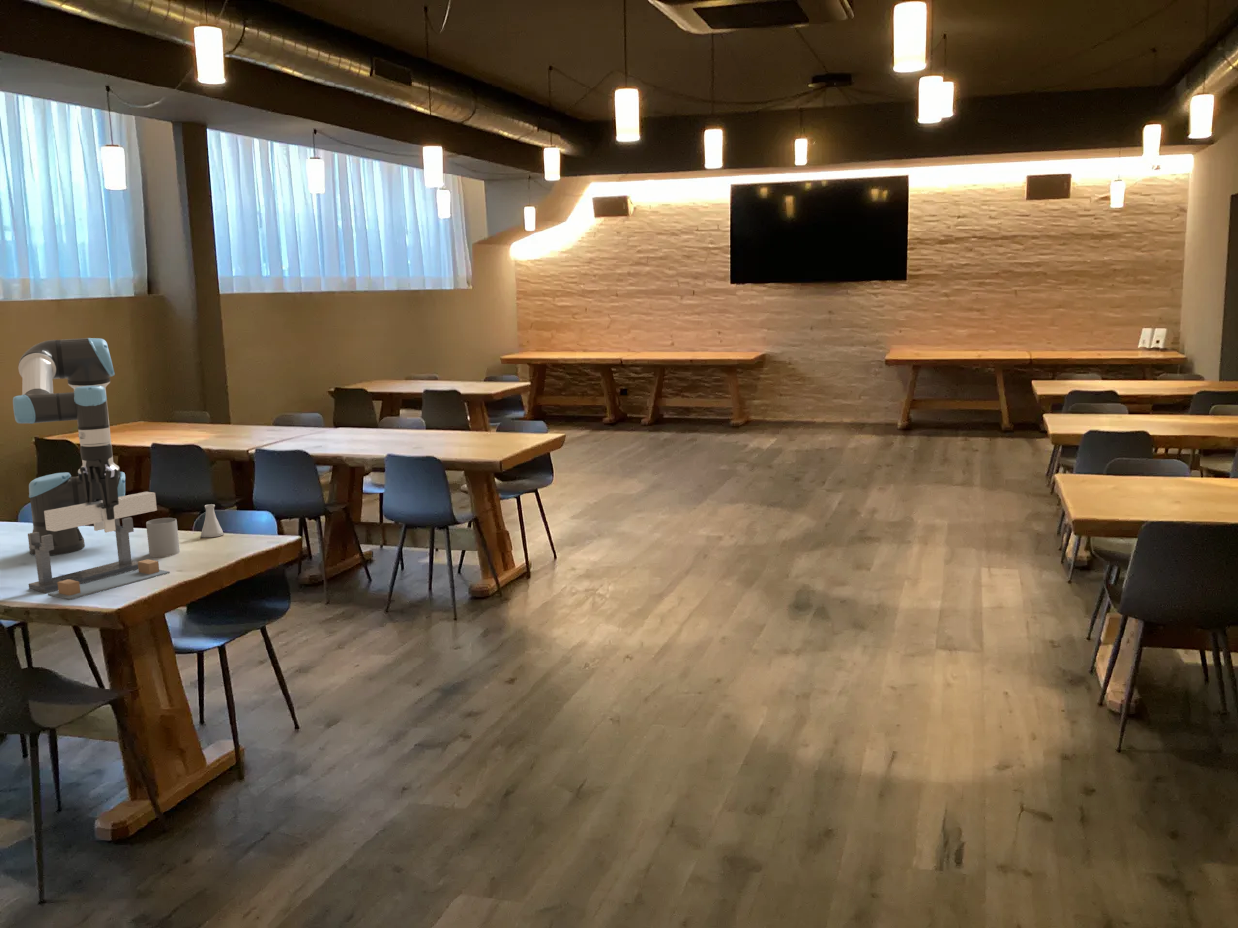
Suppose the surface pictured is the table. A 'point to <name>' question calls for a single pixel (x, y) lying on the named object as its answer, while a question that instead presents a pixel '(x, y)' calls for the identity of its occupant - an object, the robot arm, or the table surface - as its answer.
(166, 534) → the cup
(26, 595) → the table surface
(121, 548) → the hook stand
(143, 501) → the white bar
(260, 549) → the table surface
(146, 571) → the mat
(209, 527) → the flask
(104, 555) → the table surface
